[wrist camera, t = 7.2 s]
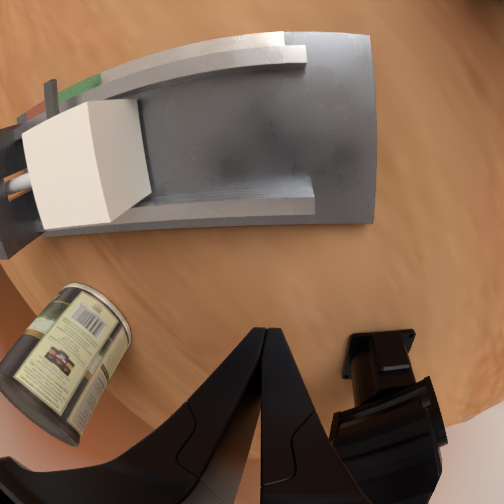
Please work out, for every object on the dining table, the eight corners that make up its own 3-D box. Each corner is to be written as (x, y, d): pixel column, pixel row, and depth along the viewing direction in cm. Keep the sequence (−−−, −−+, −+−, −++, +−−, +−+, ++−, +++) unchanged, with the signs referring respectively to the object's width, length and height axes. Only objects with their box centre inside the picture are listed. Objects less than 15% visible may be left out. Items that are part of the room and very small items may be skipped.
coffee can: (68, 330, 30) (14, 409, 17) (55, 269, 24) (-27, 355, 12) (134, 362, 30) (88, 457, 18) (132, 303, 25) (57, 423, 12)
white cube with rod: (151, 192, 17) (110, 222, 13) (26, 213, 20) (-9, 236, 15) (132, 57, 13) (83, 48, 9) (8, 121, 15) (-33, 133, 11)
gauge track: (368, 216, 18) (403, 274, 11) (51, 232, 22) (3, 269, 16) (364, 39, 12) (406, 4, 6) (25, 116, 16) (-34, 133, 10)
